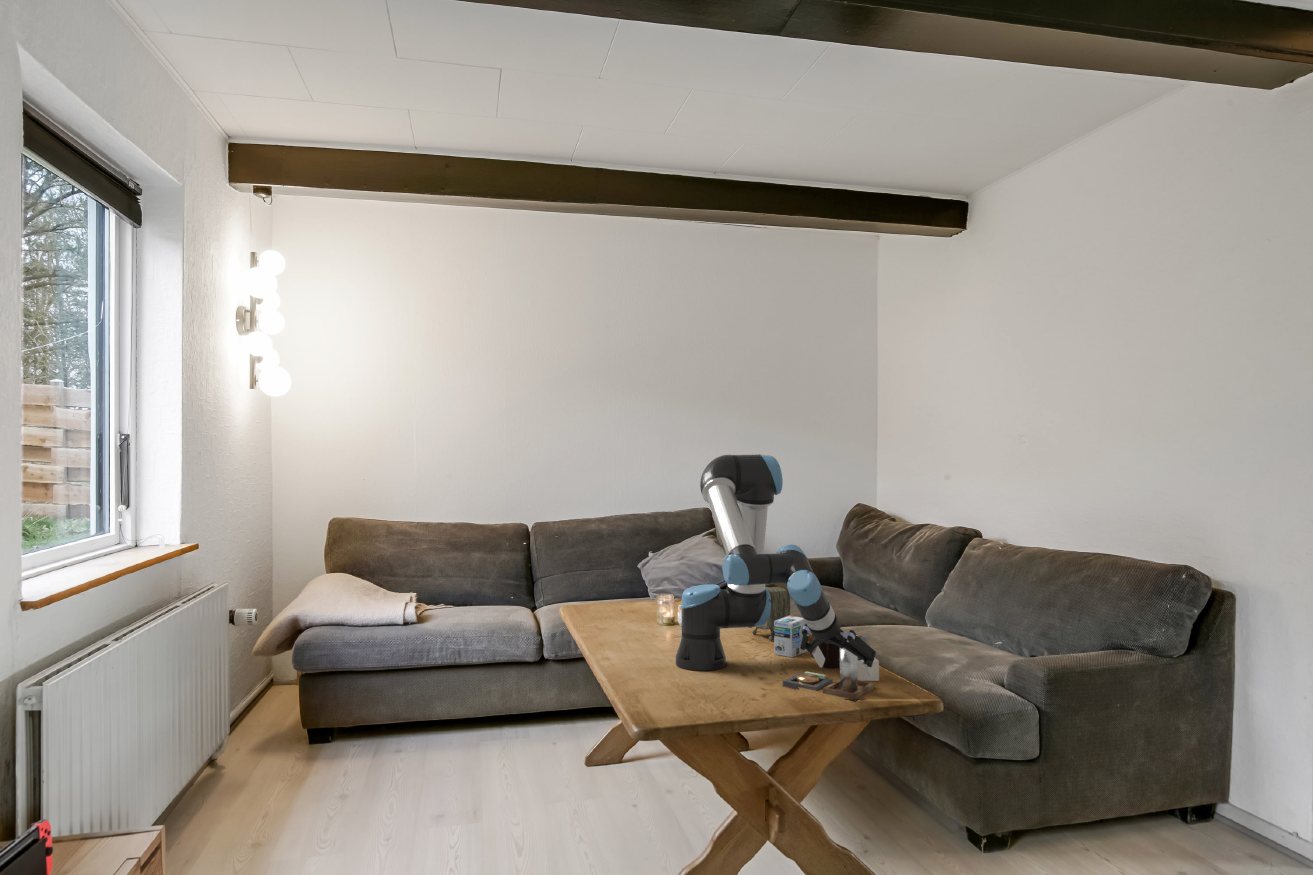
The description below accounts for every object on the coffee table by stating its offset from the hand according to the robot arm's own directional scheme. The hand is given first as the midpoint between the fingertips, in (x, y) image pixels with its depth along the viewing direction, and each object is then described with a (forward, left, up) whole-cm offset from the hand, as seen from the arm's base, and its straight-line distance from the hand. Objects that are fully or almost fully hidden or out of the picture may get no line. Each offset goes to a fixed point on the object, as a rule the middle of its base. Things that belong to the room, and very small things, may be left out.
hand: (846, 667), depth 210 cm
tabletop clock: (-9, +67, -7) cm, 68 cm away
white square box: (+8, +15, -7) cm, 18 cm away
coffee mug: (+1, +26, -7) cm, 27 cm away
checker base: (-8, +9, -7) cm, 14 cm away
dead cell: (+8, +15, -6) cm, 18 cm away
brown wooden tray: (+1, +2, -7) cm, 8 cm away
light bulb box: (-6, +45, -7) cm, 46 cm away
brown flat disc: (-8, +9, -6) cm, 14 cm away
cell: (+1, +2, -7) cm, 7 cm away
